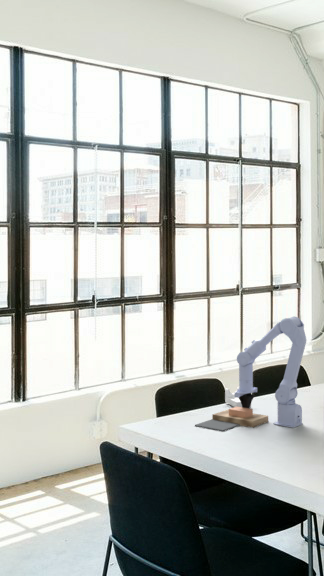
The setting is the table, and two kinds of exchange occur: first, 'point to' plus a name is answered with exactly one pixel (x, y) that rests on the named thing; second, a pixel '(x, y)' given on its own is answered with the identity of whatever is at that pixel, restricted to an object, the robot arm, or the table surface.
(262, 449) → the table surface
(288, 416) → the robot arm
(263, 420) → the board
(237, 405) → the bracket
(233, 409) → the block
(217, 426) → the mat
